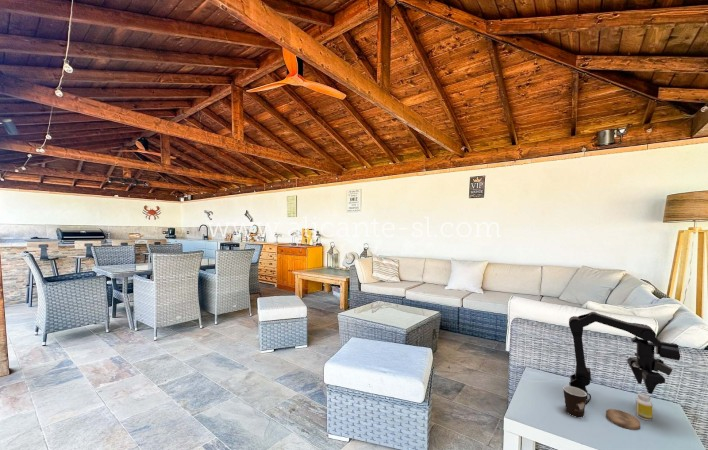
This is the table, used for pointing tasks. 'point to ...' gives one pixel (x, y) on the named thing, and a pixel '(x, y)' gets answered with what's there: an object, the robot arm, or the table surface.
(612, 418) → the walnut base
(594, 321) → the robot arm
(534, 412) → the table surface
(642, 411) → the supplement bottle
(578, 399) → the coffee mug
